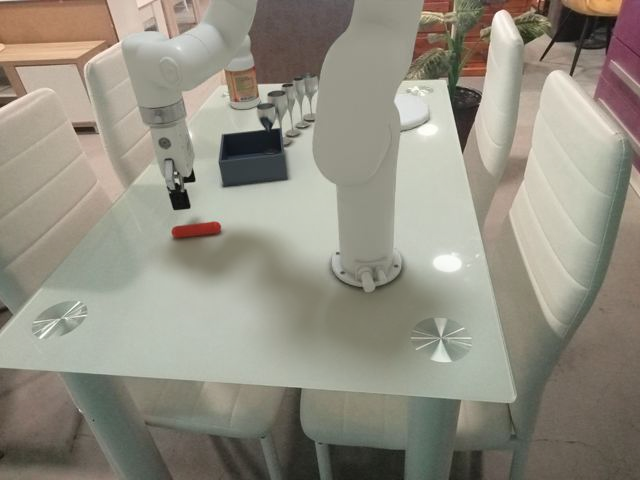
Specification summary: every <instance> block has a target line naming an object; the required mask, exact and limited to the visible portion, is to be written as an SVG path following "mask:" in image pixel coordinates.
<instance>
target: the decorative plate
mask: <svg viewBox="0 0 640 480" xmlns="http://www.w3.org/2000/svg"><path fill="white" fill-rule="evenodd" d="M394 102H395V104H396V106H397V108H398V111H399V114H400V120H401V132H402V131H408V130H411V129H413V128H416V127H419V126H422V125H423V124H424V123H425V122H427V121H428V120H429V119H430V106H429V104H428V102H426V100H425V99H424V98H421V97H418V96H415V95H412V94H407V93H399V92H397V93H396V96H395V100H394Z"/></svg>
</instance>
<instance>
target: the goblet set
mask: <svg viewBox="0 0 640 480" xmlns="http://www.w3.org/2000/svg"><path fill="white" fill-rule="evenodd" d="M318 88H319V78H318V75H317V74H316V73H312V72H306V73H302V74H300V76H297V77H296V76H295V77H294V78H292V82H287V83H283V84H281V88H280V89H279V90H278V89H277V90H271V91H269V92H268V93H267V94H266V102H264V103H259V104H258V105H257V106H256V117H257V120H258V122H259V124H260V125H261V126H262V127H263V129H264V130H265V129H266V130H267V131H268V132H270V130H271V129H273V127H274V125H275V123H276V120H277V122H278V125H279V128H282V129H283V125H282V124H283V123H282V122H283V119H284V117H285V115H286V114H287V111H288V114H289V118H290V126H291V129H288V130H286V131H285V135H286V136H283V134H282V136H283V144H284V146H285V145H288V144H290V143H291V142H292V139H291V138H290V137H288V136H297V135H299V134H300V132H301V131H300V130H299V129H296V128H294V126H293V110H294V107H295V103H296V101H297V103H298V106H299V109H300V111H299V112H300V118H301V119H300V120H301V121H298V122H296V123H295V127H298V128H306V127H308V126H310V122H308V121H315V114H316V112H315V113H314V112H313V110H312V109H313V107H312V101H313V97H314V95H315V94H317V93H318ZM305 96H306V98H307V99H308V102H309V108H310V109H309V110H310V113H307V114H305V115H303V102H304V98H305ZM306 120H307V121H306ZM279 151H280V150H277V149H270V150H267V151H264V153H266V154H274V153H277V152H279Z"/></svg>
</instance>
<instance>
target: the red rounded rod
mask: <svg viewBox="0 0 640 480" xmlns="http://www.w3.org/2000/svg"><path fill="white" fill-rule="evenodd" d="M221 230H222V225H221V223H219V221H209V222H198V223H191V224H182V225H181V224H180V225H175V226H173V227H172V228H171V230H170V231H171V236H173V238H176V239H180V238H189V237H197V236H205V235H212V234H218V233H219V232H221Z"/></svg>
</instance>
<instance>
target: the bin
mask: <svg viewBox="0 0 640 480" xmlns="http://www.w3.org/2000/svg"><path fill="white" fill-rule="evenodd" d="M282 135H283V127H282V128H280V127H275V128H272V129H271V130H270V132H268V131H267V130H266V129H265V128H264V129H259V130H258V129H257V130H247V131H240V132H238V131H237V132H229V133H222V134H221V137H220V138H221V139H220V146H219V153H218V162H217V163H218V168H219V172H220V176H221V181H222V185H223V187H230V186H231V187H232V186H239V185H240V186H241V185H248V184H249V185H250V184H257V183H266V182H275V181H283V180H288V171H287V162H286V154H285V145H284V144H283V137H284V136H282ZM270 149H277V150H280V151H279V152H277V153H274V154H266V153H264V151H267V150H270Z"/></svg>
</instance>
